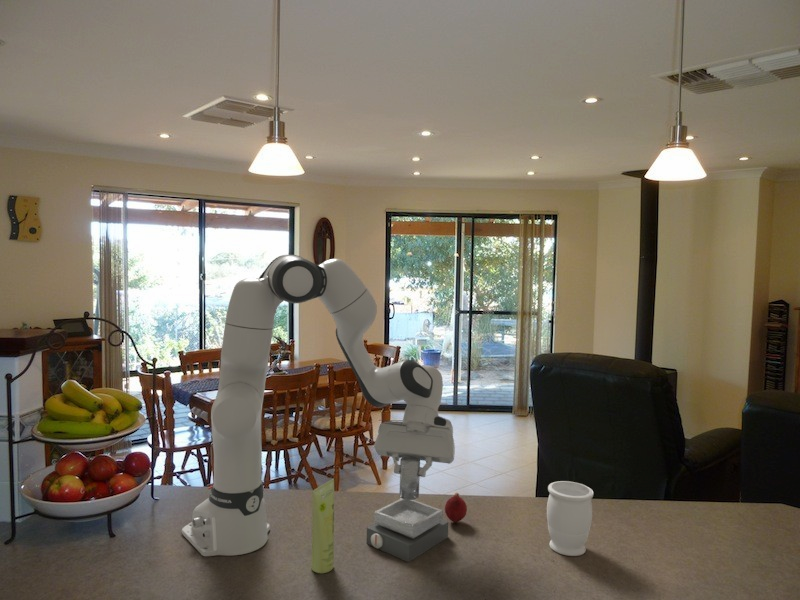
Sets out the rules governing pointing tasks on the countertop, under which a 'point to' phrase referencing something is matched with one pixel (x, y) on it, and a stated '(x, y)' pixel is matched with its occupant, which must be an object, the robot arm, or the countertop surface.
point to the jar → (569, 516)
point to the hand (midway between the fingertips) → (409, 474)
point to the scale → (406, 540)
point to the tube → (323, 528)
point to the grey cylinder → (409, 478)
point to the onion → (455, 508)
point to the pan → (408, 517)
